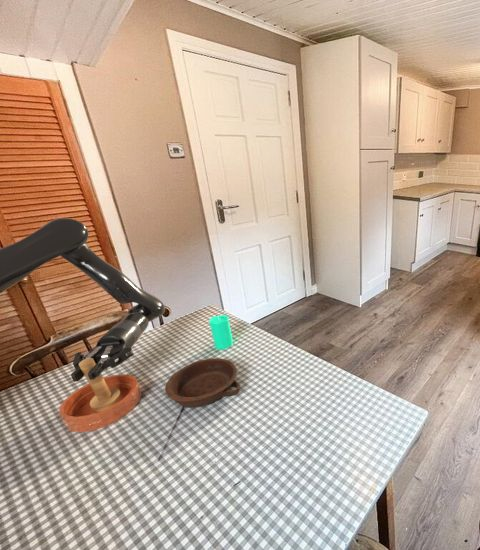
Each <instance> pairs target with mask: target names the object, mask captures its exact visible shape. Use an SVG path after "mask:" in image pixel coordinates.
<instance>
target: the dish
mask: <svg viewBox="0 0 480 550" xmlns="http://www.w3.org/2000/svg"><path fill="white" fill-rule="evenodd" d="M237 375H238V369H237V366H236V364H235V363H234V362H233V361H231V360H229V359H226V358H221V357H212V358H205V359H200V360H197V361H194V362H191V363H188V364H187V365H185V366H183V367H182V368H180V369H179V370H177V371H176V372H174V373H173V374H172V375H171V376H170V377H169V379H168V380H167V381H166V384H165V388H164V392H165V394H166V396H167V398H169V399H171V400H173V401H174V402H175V403H176V404H178V405H179V406H181V407H184V408H190V409H193V408H194V409H195V408H200V407H205V406H208V405H211V404H212V403H215V402H216V401H218V400H220V399H222V398H223V397H234V396H236V395H238V394H239V393H240V391H241V384H240V382H239V381H238V380H236V378H237ZM232 388H234V389H232Z"/></svg>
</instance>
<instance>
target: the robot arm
mask: <svg viewBox="0 0 480 550" xmlns="http://www.w3.org/2000/svg"><path fill="white" fill-rule="evenodd" d="M89 235H90V233H89V230H88V227H87V226H86V225H85V224H84V223H83V222H81V221H80V220H77V219H75V218H70V217H59V218H54V219H51V220H50V221H48V222H46V223H45V224H43V225H42V226H41V227H40V228H38V229H37V230H36V231H34V232H32V233H30V235H28V236H25V237H24V238H22V239H20V240H18V241H17V242H14V243H12V244H9V245H6V246H3V247H1V248H0V294H2V293H4V292H5V291H7V290H9V289H10V288H12V287H13V286H15V285H16V284H17V283H19V282H21V281H22V280H24V279H25V278H27V277H28V276H29V275H31V274H32V273H33V272H35V271H36V270H37V269H39V268H40V267H42V266H43V265H45V264H47V263H48V262H50V261H53V260H54V259H56V258H59V257H61V258H62V259H64V260H66V261H67V262H68V263H70V264H72V265H73V266H74V267H75V268H77V269H78V270H80V271H81V272H82V273H84V274H85V275H86V276H88V277H89V278H90V279H91V280H92V281H93V282H94V283H96V284H97V286H99V287H100V288H101V289H102V290H104V291H105V292H106V293H107V294H108V295H109V296H110V297H111V298H113V299H114V300H115V301H116V302H117V303H119V304H121V305H126V304H127V305H128V304H131V303H135V304H136V305H133V306H132V307H131V308H129V309H128V310H127V311H126V313H125V314H124V317H123V318H122V319H121V320H119V322H117V323H116V324H114V325H113V326H112V327H111V328H110V329H109V330H108V331H106V332H105V333H104V334H103V335H102V336H101V337H100V338H99V339H98V340H97V342H96V344H95V347H93V348H91V349H90V350H89V351H88V352H86V353H82V352H81V351H79V352H76V353H75V354H74V357H73V362H72V365H73V368H74V370H73V372H72V373H71V374H70V377H71V379H72V381H73V382H74V383H77V382H79V381H80V380H82V378H84V377H85V375H84V374H83V372H82V370H81V368H80V366H79V363H80V362H81V361H82V360H84V359H87V358H93V359H94V361H95V363H96V365H95V366H94V367H93V368H92V369H91V370H90V371H89V372H88V377H89V379H90V380H94V379H95V378H96V377H98V376H99V375H100V374H101V375H102V373H103V372H104V371H107V370H108V369H109V368H111V369H114V368H116V367H118V366H120V365H121V364H123V363H124V362H126V361H127V360H128V359H131V358H132V357H133V356H134V351H133V346H134V345H135V344H136V343H137V342H138V340H139V339H140V338H141V336H142V335H143V333H144V332H145V331H146V330H147V328H148V326H149V324H150V322H152V321H155V319H158V318H159V317H162V315H164V313H165V312H166V307H165V304H164V302H163V301H162V300H161V299H160V298H158V297H156V296H155V295H153V294H151V293H149V292H148V291H146V290H144V289H142V288H140V287H138V285H136V284H135V283H134V282H133V281H132V280H131V279H130V278H129V277H128V276H127V275H125V273H123V272H122V271H121V270H119V269H118V268H116V267H114V266H113V265H112V264H110V263H109V262H107V261H105V260H104V259H103V258H102V257H100V256H99V255H98V254H96V253H95V252H94V251H93V250H92V249H91V248H90V246H89V245H88V244H87V241H88V239H89ZM117 359H118V360H117ZM116 360H117V361H116Z"/></svg>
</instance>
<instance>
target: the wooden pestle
mask: <svg viewBox="0 0 480 550" xmlns="http://www.w3.org/2000/svg"><path fill="white" fill-rule="evenodd" d="M95 365H96V363H95V361H94V359H93V358H87V359H84V360H82V361H81V362H80V363H79V366H80V368H81V370H82V372H83V374H84V377H85V379H86V381H87V382H88V383H87V384H90V386H91V388H92V390H93V391H94V393H95V396H94V397H93V398H92V399H91V401H90V406H91V408H92V409H93V411H94V412H96V413H97V412H100V411H103V410H105V409H107V408H109V407H111V406H113V405H114V404H116V403H118V402H119V401H121V400H122V398H123V396H122V394H121V392H120V390H119V389H117V388H110V389H109V388H108V386H107V384H106V382H105V381H104V379H103V378H104V376H103V375H102V373H101V374H100V375H99V376H98V377H96V378H95V379H94V380H90V379H89V377H88V372H89V371H90V370H91V369H92V368H93V367H94V366H95Z"/></svg>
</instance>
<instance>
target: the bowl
mask: <svg viewBox="0 0 480 550" xmlns="http://www.w3.org/2000/svg"><path fill="white" fill-rule="evenodd" d="M103 379H104V381H105V382H106V384H107V386H108V388H109V389H110V388H117V389H119V390H120V392H121V394H122V396H123V398H122V400H121V401H119V402H118V403H116V404H114V405H113V406H111V407H109V408H107V409H105V410H103V411H100V412H97V413H96V412H94V411H93V409H92V408H91V406H90V401H91V399H92V398H93V397H94V396H95V393H94V391H93V390H92V388H91V386H90V384H89V383H87V384H85V385H83V386H82V387H79V388H78V389H77V390H75V391H74V392H72V393H71V394H70V395H68V396H67V397H66V398H65V399H64V401H63V402H62V403H61V404H60V407H59V409H58V413H59V417H60V418H61V420H62V422H63V424H64V426H65V428H66V429H67V430H69V431H70V432H73V433H85V432H93V431H95V430H98V429H102V428H105V427H107V426H109V425H111V424H114V423H115V422H117V421H119V420H120V419H122V418H124V417H125V416H126V415H128V414H129V413H130V412H131V411H133V410H134V408H136V407H137V405H138V404H139V403H140V401H141V399H142V394H143V393H142V389H141V387H140V385H139V382H138V380H137V377H135V376H133V375H131V374H125V373H120V374H112V375H108V376H103Z"/></svg>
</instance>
